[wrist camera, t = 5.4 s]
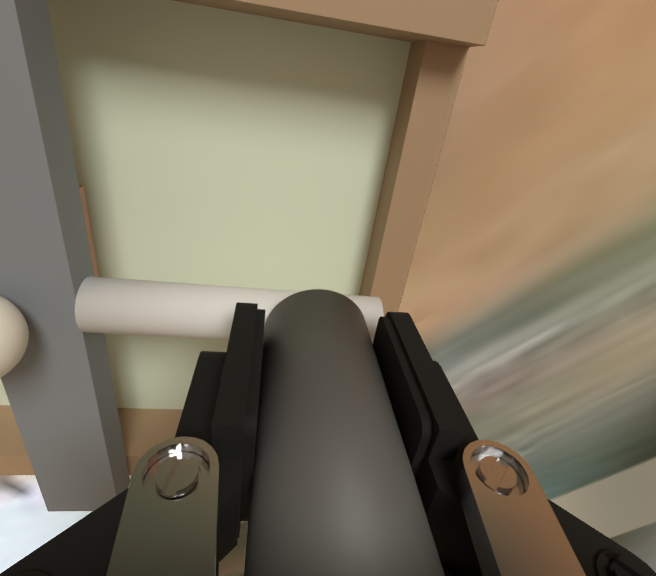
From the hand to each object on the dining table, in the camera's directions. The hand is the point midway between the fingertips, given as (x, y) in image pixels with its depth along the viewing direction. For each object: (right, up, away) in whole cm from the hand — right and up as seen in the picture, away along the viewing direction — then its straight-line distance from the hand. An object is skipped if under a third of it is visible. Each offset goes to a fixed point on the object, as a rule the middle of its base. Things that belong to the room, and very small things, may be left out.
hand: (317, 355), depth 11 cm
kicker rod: (-4, +3, +4) cm, 6 cm away
